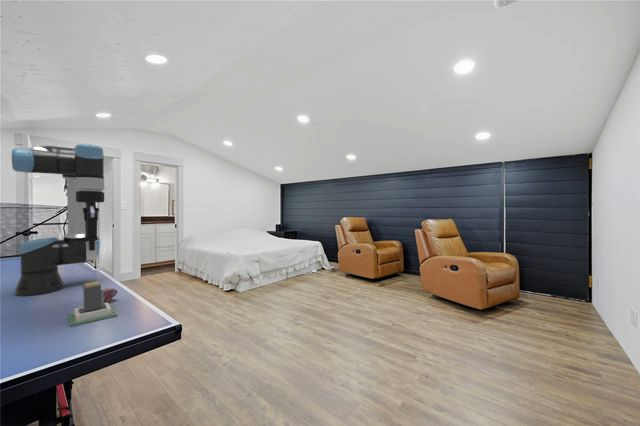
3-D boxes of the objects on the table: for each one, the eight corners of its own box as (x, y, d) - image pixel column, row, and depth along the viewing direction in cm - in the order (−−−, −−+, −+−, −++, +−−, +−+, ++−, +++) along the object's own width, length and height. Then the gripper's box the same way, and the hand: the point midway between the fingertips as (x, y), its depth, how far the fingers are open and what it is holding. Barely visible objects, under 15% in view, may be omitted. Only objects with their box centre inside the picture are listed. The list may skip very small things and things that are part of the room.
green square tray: (68, 315, 96) (68, 308, 96) (111, 307, 104) (111, 300, 104) (70, 326, 87) (70, 318, 87) (117, 316, 96) (117, 308, 95)
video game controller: (91, 312, 103) (97, 296, 102) (82, 306, 104) (88, 290, 103) (115, 303, 113) (121, 288, 112) (106, 297, 114) (113, 282, 113)
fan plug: (83, 314, 96) (83, 283, 95) (102, 310, 99) (102, 280, 99) (84, 318, 93) (84, 285, 92) (104, 313, 96) (103, 282, 96)
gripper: (74, 191, 97) (76, 258, 97) (76, 189, 87) (78, 264, 88) (101, 192, 102) (103, 255, 102) (106, 190, 92) (108, 260, 93)
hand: (91, 259), depth 95 cm, fingers closed
